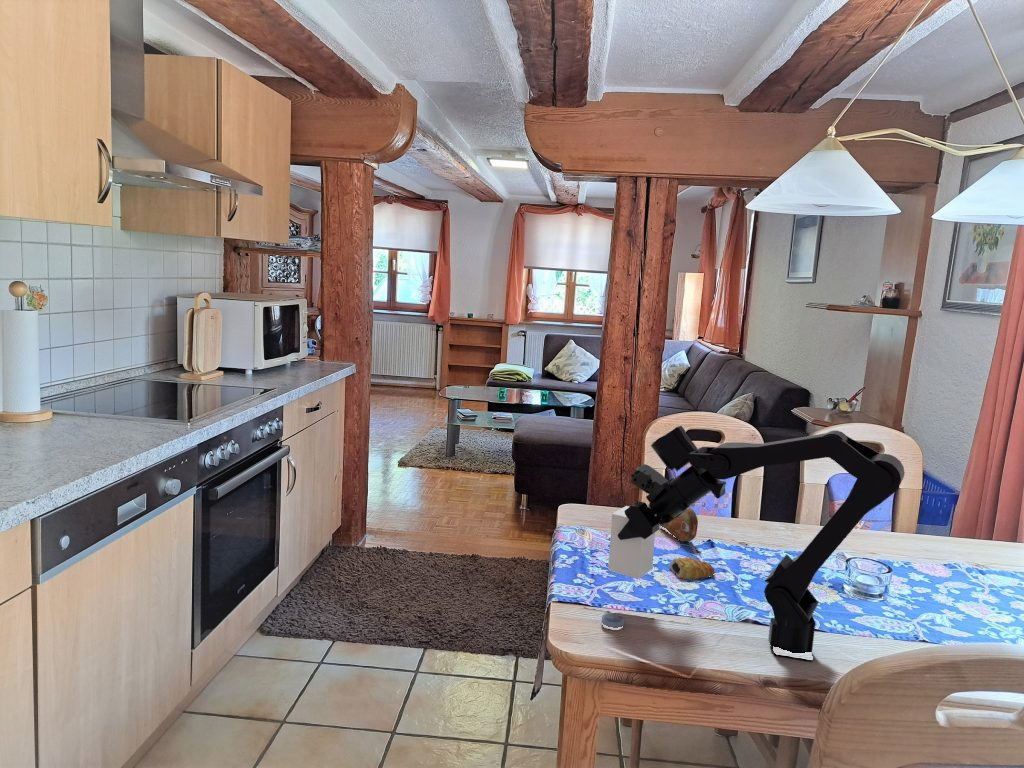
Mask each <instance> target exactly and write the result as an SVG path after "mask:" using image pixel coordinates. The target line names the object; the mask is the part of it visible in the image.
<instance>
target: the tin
mask: <svg viewBox="0 0 1024 768" xmlns="http://www.w3.org/2000/svg"><path fill="white" fill-rule="evenodd" d="M698 524H699V519H698V516H697V513H696V512H695V510H694V509H693V508H691V507H688V508H687V511H685V512H684V513H683V514H681V515H680V516H678V517H677V518H675V517H674V519H673V520H672V521H670V522H669V523H665V524H661V525H660V526H659V527H661V526H662V527H664V528H666V529H667V530H668V531H669V532H670V533H671V534H672V535H674V536H675V537H676V538H677V539H679V540H680V541H681V542H691V541H693V540H694V539H695V538H696V537H697V532H698ZM677 539H676V540H677ZM680 541H679V542H680Z"/></svg>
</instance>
